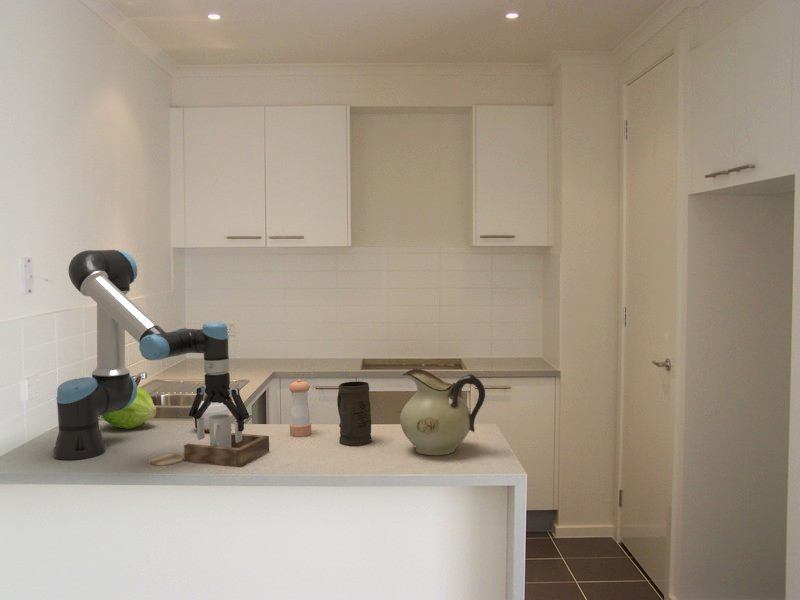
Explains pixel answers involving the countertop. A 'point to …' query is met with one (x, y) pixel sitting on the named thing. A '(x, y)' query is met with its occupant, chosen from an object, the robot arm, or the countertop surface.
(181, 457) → the coaster
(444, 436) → the pitcher
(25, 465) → the countertop surface
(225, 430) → the mug
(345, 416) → the beer stein
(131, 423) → the lettuce
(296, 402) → the salt shaker
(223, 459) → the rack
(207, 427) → the white bowl
